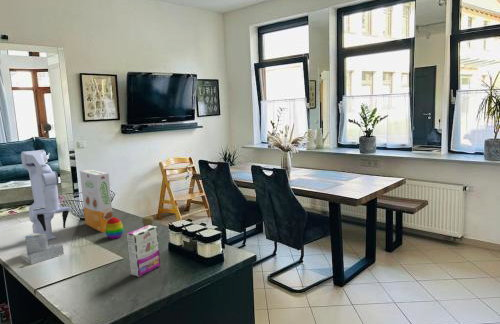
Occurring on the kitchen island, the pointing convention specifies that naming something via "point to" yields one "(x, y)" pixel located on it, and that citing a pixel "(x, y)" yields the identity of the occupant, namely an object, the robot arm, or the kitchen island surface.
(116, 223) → the decorative egg
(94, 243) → the kitchen island surface
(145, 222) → the cork
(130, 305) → the kitchen island surface
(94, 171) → the cereal box
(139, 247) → the candy bar box
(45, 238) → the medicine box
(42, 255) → the jig bracket
